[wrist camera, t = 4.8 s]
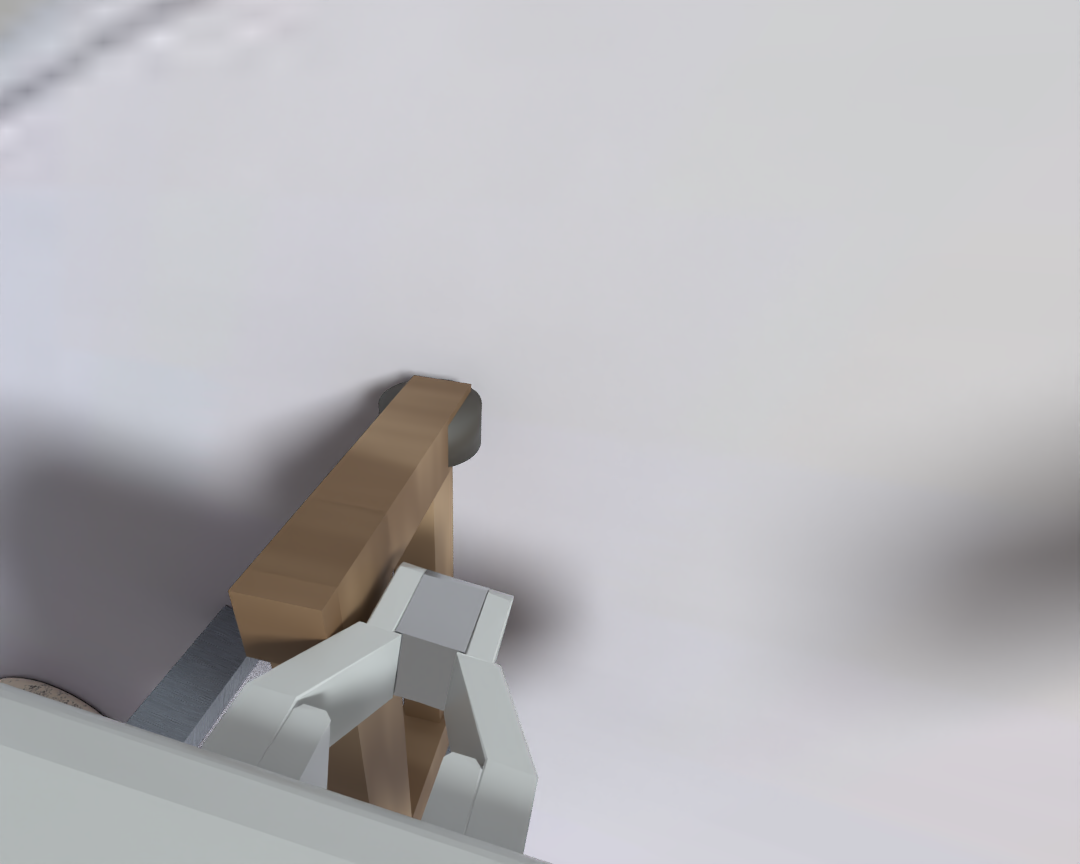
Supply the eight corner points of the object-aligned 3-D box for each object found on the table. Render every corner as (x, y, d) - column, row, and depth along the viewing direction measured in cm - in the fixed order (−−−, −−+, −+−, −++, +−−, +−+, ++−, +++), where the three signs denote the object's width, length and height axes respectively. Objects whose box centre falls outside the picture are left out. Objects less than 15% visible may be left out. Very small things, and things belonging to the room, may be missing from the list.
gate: (483, 683, 23) (397, 952, 16) (418, 669, 24) (306, 926, 17) (493, 380, 16) (351, 617, 9) (401, 366, 17) (199, 584, 10)
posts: (463, 736, 26) (361, 1048, 18) (221, 633, 26) (2, 904, 18) (485, 699, 25) (384, 1024, 16) (227, 589, 24) (-12, 864, 16)
